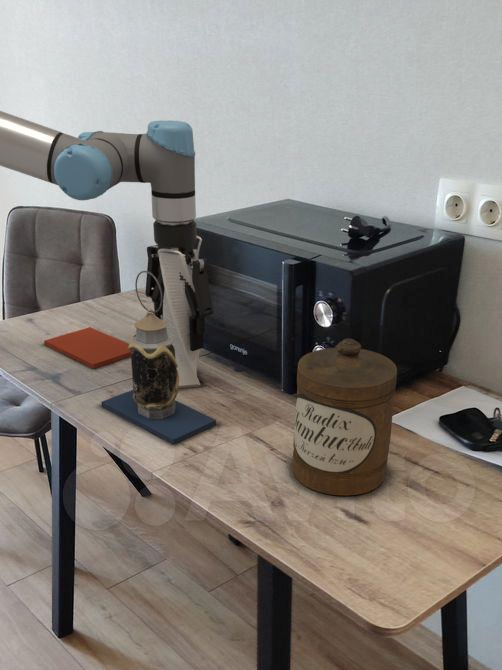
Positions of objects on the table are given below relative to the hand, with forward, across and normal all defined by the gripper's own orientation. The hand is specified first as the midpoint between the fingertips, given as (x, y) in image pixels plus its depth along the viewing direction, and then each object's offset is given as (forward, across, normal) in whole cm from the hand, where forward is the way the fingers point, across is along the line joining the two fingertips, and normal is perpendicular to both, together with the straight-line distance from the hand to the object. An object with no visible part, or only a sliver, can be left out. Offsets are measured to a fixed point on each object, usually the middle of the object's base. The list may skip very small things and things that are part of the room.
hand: (180, 341), depth 135 cm
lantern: (+7, -8, +13) cm, 17 cm away
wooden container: (+8, -43, +5) cm, 44 cm away
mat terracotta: (+8, +26, +3) cm, 27 cm away
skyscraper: (+8, -1, 0) cm, 8 cm away
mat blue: (+8, -8, +13) cm, 18 cm away
